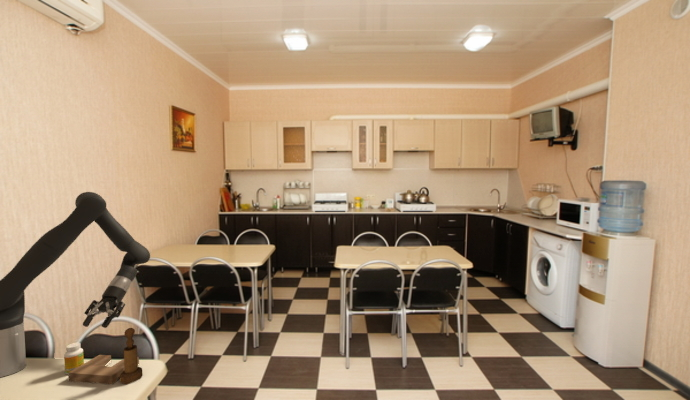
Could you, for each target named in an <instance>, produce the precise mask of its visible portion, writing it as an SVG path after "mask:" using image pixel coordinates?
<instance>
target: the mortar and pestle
mask: <svg viewBox="0 0 690 400" xmlns="http://www.w3.org/2000/svg"><path fill="white" fill-rule="evenodd" d="M135 333H136V330H135V329H134V327H129V328H127V329H125V331H124V336H125V338H127V340H126V347H124V348H123V359H124V371H123V372H122V373H121V374H120V379H119V382H120V384H124V385H128V384H131V383H134V382H137V381H139V380H140V379H141V378H143V376H144V375H143V368H142V367H140V366H139V365H138V363H137V357H138V345H136V344H135V340H134V339H133V337H134V336H135Z"/></svg>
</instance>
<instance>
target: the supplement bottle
mask: <svg viewBox="0 0 690 400" xmlns="http://www.w3.org/2000/svg"><path fill="white" fill-rule="evenodd" d="M65 349H66V352H65V353H64V354H63V356H64V357H63V359H64V360H63V362H64V373H65V375H69V372H71V371H72V370H74V369H76V368H78V367H79V366H81V365H83V364H84V363H85V360H84V349H83V348H82V347H81V342H73V343H70V344H68V345H67V346H65Z"/></svg>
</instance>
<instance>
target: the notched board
mask: <svg viewBox="0 0 690 400" xmlns="http://www.w3.org/2000/svg"><path fill="white" fill-rule="evenodd" d="M110 360H111V361H112V354H111V355H110V354H109V355H106V354H99V355H96V356H94V357H93V358H92V359H89V360H88V361H86V362H84V364H83V365H81V366H79V367H78V368H76V369H74V370H72V371H71V372H69V374H68V382H74V383H76V382H77V383H87V384H88V383H89V384H102V385H113V384H114V383H116V382H117V381H120V374H121V373H122V372H123V371H124V358H122V359H121V360H119V361H118V362H116V363H114V364H113V365H112V366H105V365H106V364H107V363H108V362H109V361H110ZM137 363H138V364H139V365H140V357H139V356H137Z"/></svg>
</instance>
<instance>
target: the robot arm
mask: <svg viewBox="0 0 690 400" xmlns="http://www.w3.org/2000/svg"><path fill="white" fill-rule="evenodd" d="M74 202H75V203H74V204H75V208H74V209H73V211H72V212H71V213H70V214H69V215H68V217H66V218H65V219H64V220H63V221H62V222H61V223H59V224H57V225H56V226H54V227H52V228H51V229H49V230H48V231H47V232H45V233H44V234H43V235H41V236H40V238H39V239H37V241H36V242H35V243H34V244H32V245H31V247H30V248H29V249H28V250H27V251H26V252H25V253H24V255H23V256H22V257H21V258H20V259H19V260H18V262H17V263H16V264H15V265H14V267H13V268H12V269H11V270H10V271H9V272H8V273H7V274H5V275H4V277H3V278H1V279H0V378H2V377H7V376H10V375H13V374H15V373H18V372H20V371H21V370H23V369H24V367H25V368H26V366H27V360H26V359H27V358H26V342H25V341H26V340H25V321H24V315H25V311H26V306H25V305H26V299H25V296H26V294H25V291H26V289H27V288H28V287H29V285H30V284H31V283H32V282H33V281H34V280H35V279H36V278H37V277H38V276H40V275H41V274H42V273H43V272H45V271H46V270H47V269H48V268H50V267H51V266H52V265H53V264H54V263H55V262H56V261H58V260H59V258H60V257H61V256H62V255H63V254H64V253H65V252H66V251H67V250H68V249H69V247H70V246H71V245H72V244H73V243H74V242H76V240H77V239H78V237H80V235H81V234H82V233H83V232H84V231H85V230H86V229H87V228H88V227H89V226H90V225H92V224H93V222H95V223H96V224H97V225H98V227H99V228H100V229H101V230H102V232H103V233H104V234H105V236H106V237H107V238H108V239H109V241H111V242H112V243H113V245H114V246H115V247H116V248H117V249H118V250H119V251H120V252H125V254H124V256H123V258H122V261H121V265H120V268H119V270H118V271H117V273H116V274H115V276H114V277H113V278H112V279H111V280H110V282H109V284H108V286H107V287H106V288H105V290H104V291H103V293H102V295H101V299H100V300H99V301H98V300H95V299H94V300H92V301H91V303H90V304H89V306H88V307H87V308H86V310H85V312H84V315H86V318H85V319H84V321H83V322H82V326H83V327H85V328H88V327H89V325H90V324H91V323H92V321H93V319H94V318H95V317H96V316H97V315H100V314H103V313H106V314H107V316H105V318H104V321H103V322H102V324H101V327H102V328H104V329H107V328H108V327H109V326H110V324H111V322H112V321H113V319H115V318H119V317H121V314H122V312H123V310H124V308H125V306H126V303H125V302H123V300H124V297H125V296H126V294H127V293H128V291H129V289H130V288H131V285H132V283H133V281H134V280H135V278H136V276H137V274H138V269H137V268H136V266H137V265H143V264H146V263H148V262H149V261H150V260H151V253H150V251H149V249H148V248H147V247H146V246H144V245H143V244H141V242H139V241H137V240H135V238H134V237H133V236H132V235H131V233H129V232H128V231H127V229H126V228H125V227H124V226H122V224H121V223H120V222H119V221H117V219H116V218H115V217H114V216H113V214H111V212H110V211H109V210H108V209H107V202H106V199H104V198H103V197H102V196H101V195H100V194H98V193H96V192H93V191H84V192H81V193H79V195H78V196H77V197H76V198H75V201H74Z"/></svg>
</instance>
